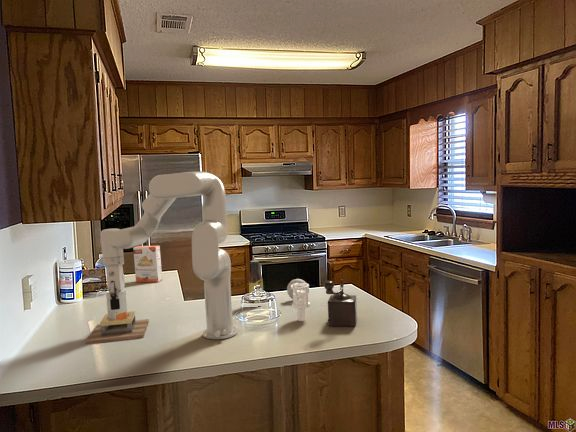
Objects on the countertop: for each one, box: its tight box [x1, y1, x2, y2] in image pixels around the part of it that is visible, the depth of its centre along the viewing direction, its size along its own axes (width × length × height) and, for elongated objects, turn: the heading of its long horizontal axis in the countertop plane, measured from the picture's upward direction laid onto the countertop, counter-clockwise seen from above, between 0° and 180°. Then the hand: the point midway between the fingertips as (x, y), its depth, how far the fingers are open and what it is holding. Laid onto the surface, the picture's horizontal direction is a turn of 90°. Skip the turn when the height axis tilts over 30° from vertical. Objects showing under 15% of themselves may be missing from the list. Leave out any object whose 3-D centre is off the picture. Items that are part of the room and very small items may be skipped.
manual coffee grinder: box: [323, 279, 358, 328], centre depth 175 cm, size 16×11×18 cm
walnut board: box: [85, 318, 150, 345], centre depth 181 cm, size 20×20×1 cm
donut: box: [286, 278, 310, 300], centre depth 213 cm, size 10×3×10 cm, turn 86°
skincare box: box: [105, 289, 128, 320], centre depth 180 cm, size 6×4×12 cm
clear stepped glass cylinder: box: [291, 282, 311, 322], centre depth 184 cm, size 7×7×15 cm
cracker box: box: [132, 245, 163, 283], centre depth 273 cm, size 14×6×21 cm, turn 81°
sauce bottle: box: [248, 259, 264, 294], centre depth 209 cm, size 6×6×20 cm
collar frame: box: [99, 311, 137, 335], centre depth 181 cm, size 11×11×5 cm
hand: (117, 306), depth 180 cm, fingers closed on skincare box, 7 cm apart
